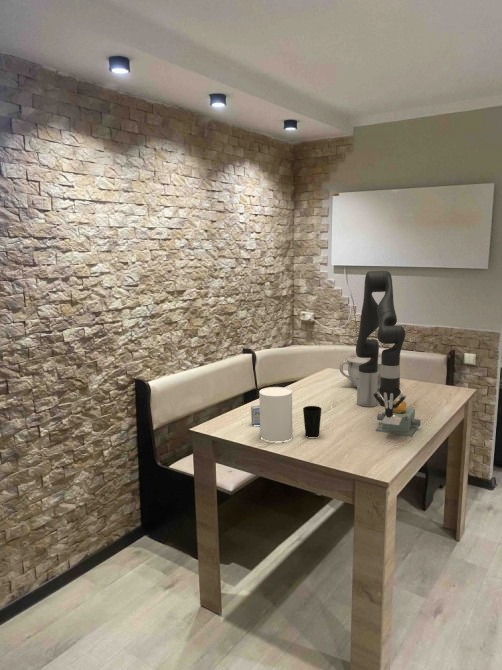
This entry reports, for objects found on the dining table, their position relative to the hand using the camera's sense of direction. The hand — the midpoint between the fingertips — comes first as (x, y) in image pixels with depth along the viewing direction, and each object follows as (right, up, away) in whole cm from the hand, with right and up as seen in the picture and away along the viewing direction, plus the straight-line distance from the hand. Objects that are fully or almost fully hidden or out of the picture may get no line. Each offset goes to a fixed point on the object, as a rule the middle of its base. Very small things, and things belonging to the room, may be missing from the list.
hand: (389, 416), depth 201 cm
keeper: (+5, -1, +9) cm, 10 cm away
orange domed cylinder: (+9, -6, +17) cm, 20 cm away
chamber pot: (+11, +3, +81) cm, 82 cm away
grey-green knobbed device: (+9, -7, +17) cm, 21 cm away
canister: (-45, -10, +8) cm, 47 cm away
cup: (-30, -10, +9) cm, 33 cm away
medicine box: (-51, -8, +24) cm, 57 cm away
